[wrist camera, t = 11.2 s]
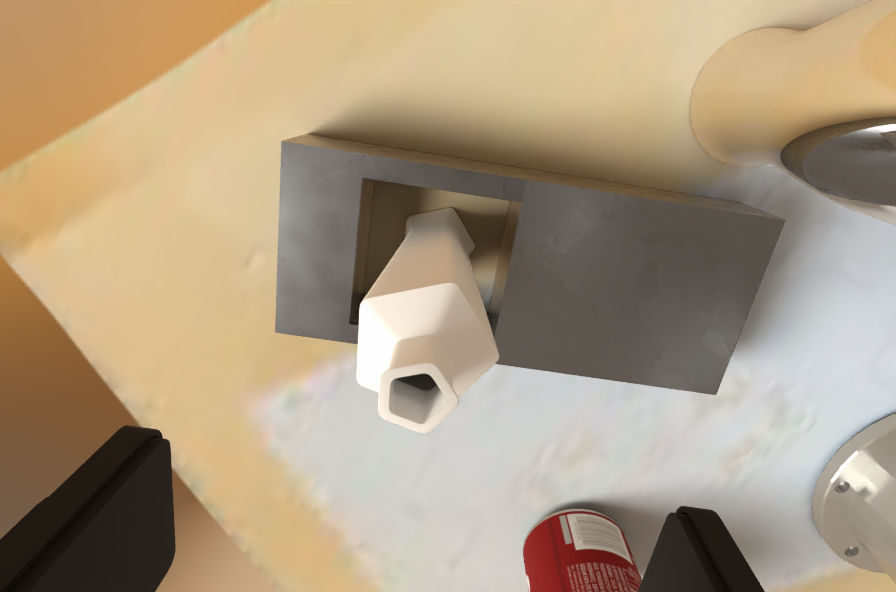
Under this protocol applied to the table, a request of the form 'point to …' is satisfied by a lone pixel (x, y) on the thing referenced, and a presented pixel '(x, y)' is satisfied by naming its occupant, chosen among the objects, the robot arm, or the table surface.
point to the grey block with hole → (539, 262)
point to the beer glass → (810, 106)
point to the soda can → (579, 554)
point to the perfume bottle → (425, 325)
